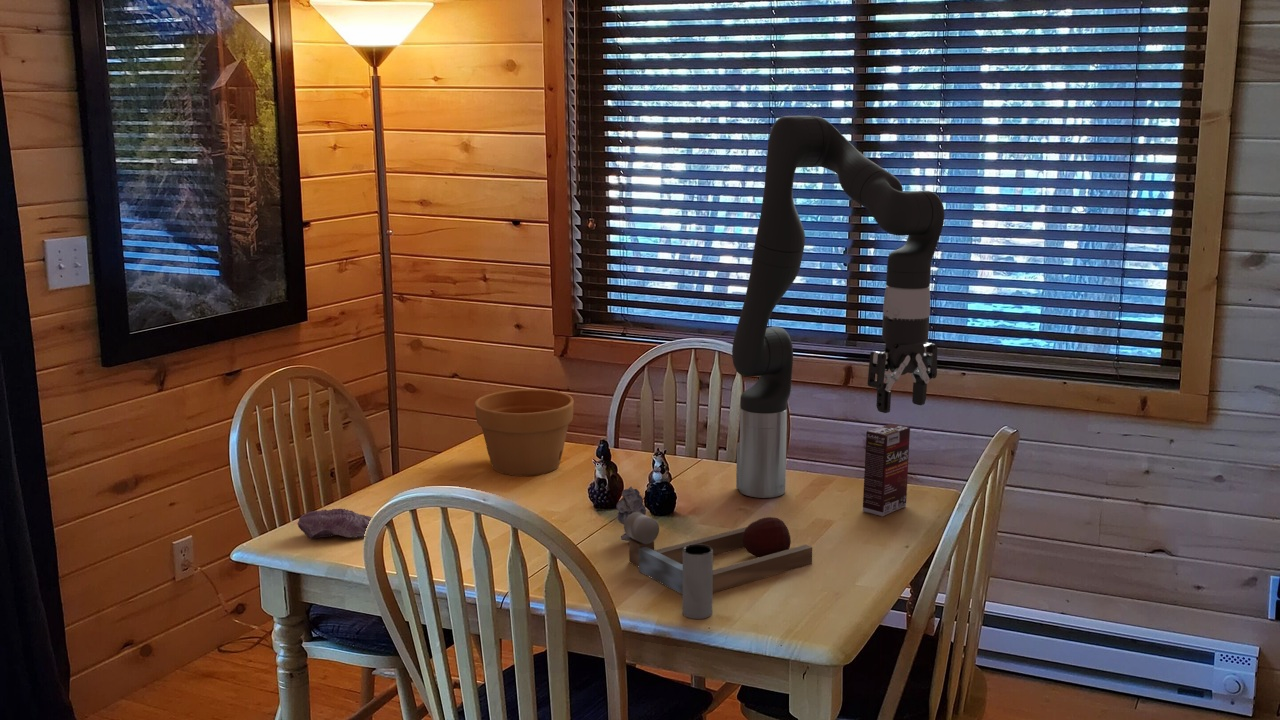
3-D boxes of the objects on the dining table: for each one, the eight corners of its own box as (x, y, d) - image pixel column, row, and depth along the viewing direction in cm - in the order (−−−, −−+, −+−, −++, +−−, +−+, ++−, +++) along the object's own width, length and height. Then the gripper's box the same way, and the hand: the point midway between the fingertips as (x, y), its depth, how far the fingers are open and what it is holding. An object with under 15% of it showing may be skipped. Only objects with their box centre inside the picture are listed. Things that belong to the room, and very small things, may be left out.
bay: (622, 562, 202) (621, 515, 200) (739, 532, 216) (740, 488, 214) (690, 599, 186) (690, 548, 185) (811, 564, 200) (813, 516, 199)
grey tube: (708, 606, 183) (709, 542, 181) (715, 618, 179) (715, 553, 177) (679, 608, 183) (680, 544, 181) (685, 620, 178) (685, 555, 176)
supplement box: (883, 517, 224) (886, 435, 220) (861, 511, 227) (864, 431, 224) (908, 506, 230) (911, 426, 227) (886, 501, 233) (889, 422, 230)
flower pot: (557, 484, 245) (556, 414, 242) (461, 477, 250) (459, 409, 247) (586, 456, 265) (585, 391, 262) (496, 450, 270) (495, 386, 267)
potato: (735, 551, 207) (736, 513, 205) (782, 547, 208) (782, 509, 207) (749, 567, 200) (750, 527, 198) (797, 562, 201) (797, 523, 200)
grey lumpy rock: (633, 547, 209) (632, 493, 207) (611, 540, 212) (610, 486, 210) (653, 540, 212) (653, 486, 210) (632, 533, 216) (632, 480, 214)
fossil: (297, 533, 217) (296, 505, 216) (376, 525, 221) (375, 499, 220) (298, 547, 210) (297, 519, 209) (380, 540, 214) (379, 512, 213)
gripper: (918, 305, 204) (912, 397, 207) (859, 314, 195) (854, 409, 199) (952, 312, 198) (946, 406, 201) (893, 321, 190) (888, 419, 193)
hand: (901, 408), depth 200 cm, fingers open, 8 cm apart
